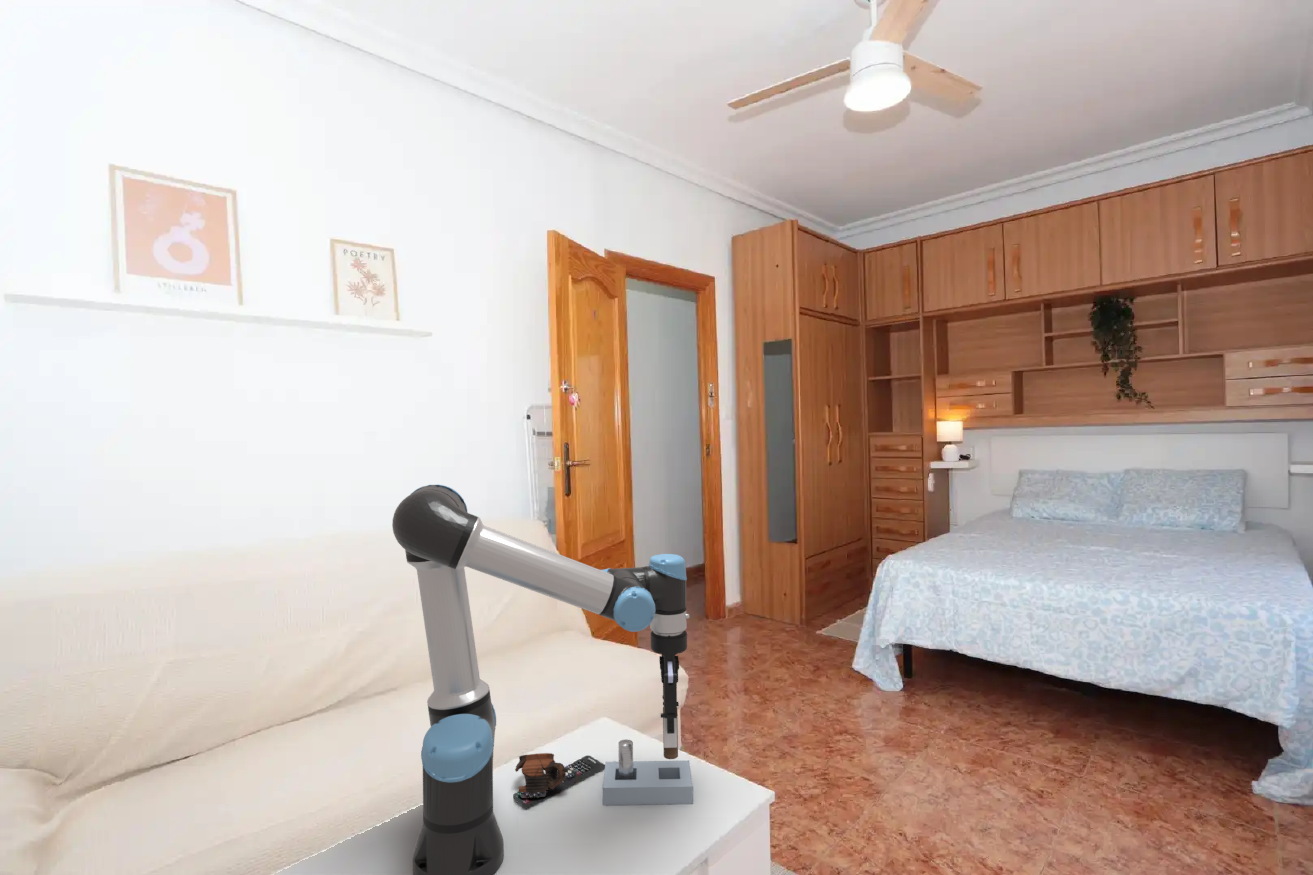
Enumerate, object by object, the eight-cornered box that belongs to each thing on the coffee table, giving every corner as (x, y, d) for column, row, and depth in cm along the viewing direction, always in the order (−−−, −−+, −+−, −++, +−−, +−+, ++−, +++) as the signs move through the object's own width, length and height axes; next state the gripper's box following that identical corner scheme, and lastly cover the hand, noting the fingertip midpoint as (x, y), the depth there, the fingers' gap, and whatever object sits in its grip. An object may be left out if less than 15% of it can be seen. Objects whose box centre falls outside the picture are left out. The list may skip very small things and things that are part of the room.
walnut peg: (678, 758, 134) (677, 710, 133) (664, 759, 133) (663, 711, 133) (677, 751, 137) (676, 704, 136) (663, 752, 136) (662, 704, 136)
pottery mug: (504, 800, 132) (506, 755, 136) (530, 799, 140) (531, 756, 144) (555, 796, 129) (555, 750, 133) (579, 795, 136) (578, 751, 140)
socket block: (602, 805, 130) (602, 787, 130) (605, 777, 140) (605, 761, 140) (692, 803, 130) (692, 786, 130) (689, 776, 140) (689, 760, 140)
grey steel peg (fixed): (618, 794, 133) (618, 746, 133) (619, 786, 136) (618, 739, 136) (633, 794, 133) (632, 746, 133) (633, 786, 136) (633, 739, 136)
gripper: (689, 642, 127) (691, 761, 127) (684, 618, 142) (685, 724, 143) (651, 643, 126) (652, 762, 127) (650, 619, 142) (651, 725, 143)
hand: (670, 742), depth 135 cm, fingers closed on walnut peg, 2 cm apart
